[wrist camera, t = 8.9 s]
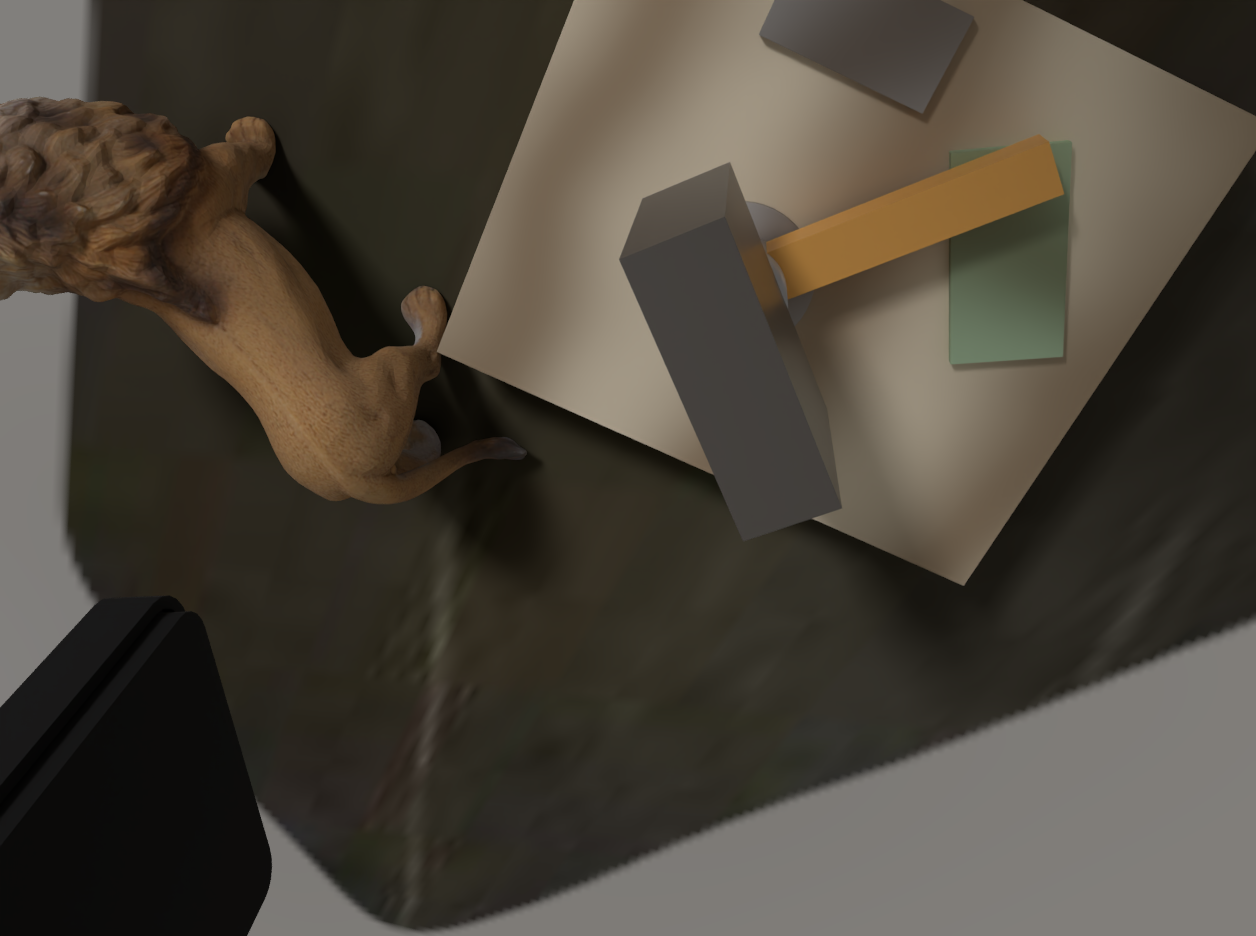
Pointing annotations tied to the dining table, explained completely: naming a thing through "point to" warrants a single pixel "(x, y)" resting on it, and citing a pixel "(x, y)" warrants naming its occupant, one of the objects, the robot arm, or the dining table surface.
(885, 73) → the dial board
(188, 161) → the lion figurine
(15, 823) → the robot arm
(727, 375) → the latch
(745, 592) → the dining table surface
